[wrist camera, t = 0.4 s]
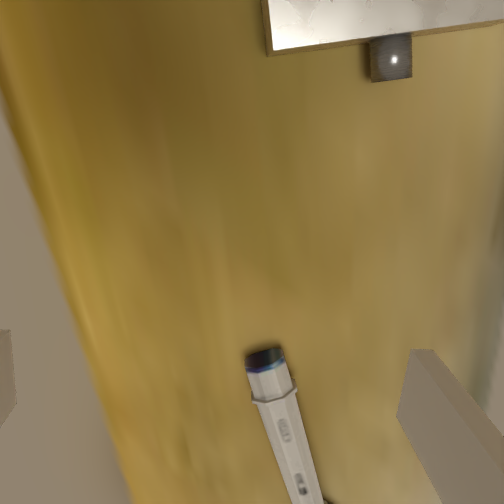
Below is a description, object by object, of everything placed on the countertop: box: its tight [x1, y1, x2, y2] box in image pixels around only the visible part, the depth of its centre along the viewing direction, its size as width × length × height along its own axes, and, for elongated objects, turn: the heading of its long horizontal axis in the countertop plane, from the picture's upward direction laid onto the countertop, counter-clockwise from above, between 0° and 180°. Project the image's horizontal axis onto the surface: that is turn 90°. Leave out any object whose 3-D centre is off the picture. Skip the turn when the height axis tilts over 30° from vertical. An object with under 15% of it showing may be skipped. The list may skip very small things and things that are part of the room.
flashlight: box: [245, 348, 328, 504], centre depth 47 cm, size 5×7×25 cm
